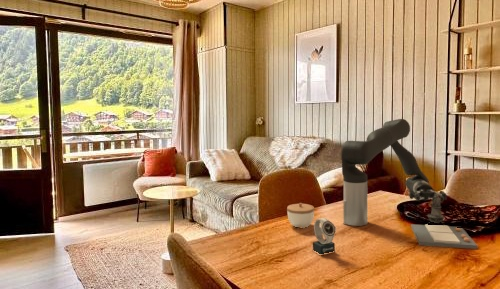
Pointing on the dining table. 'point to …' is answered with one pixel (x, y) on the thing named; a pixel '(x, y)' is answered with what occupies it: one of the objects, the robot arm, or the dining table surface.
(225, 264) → the dining table surface
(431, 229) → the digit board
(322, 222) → the watch
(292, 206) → the lidded jar
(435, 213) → the salt shaker
